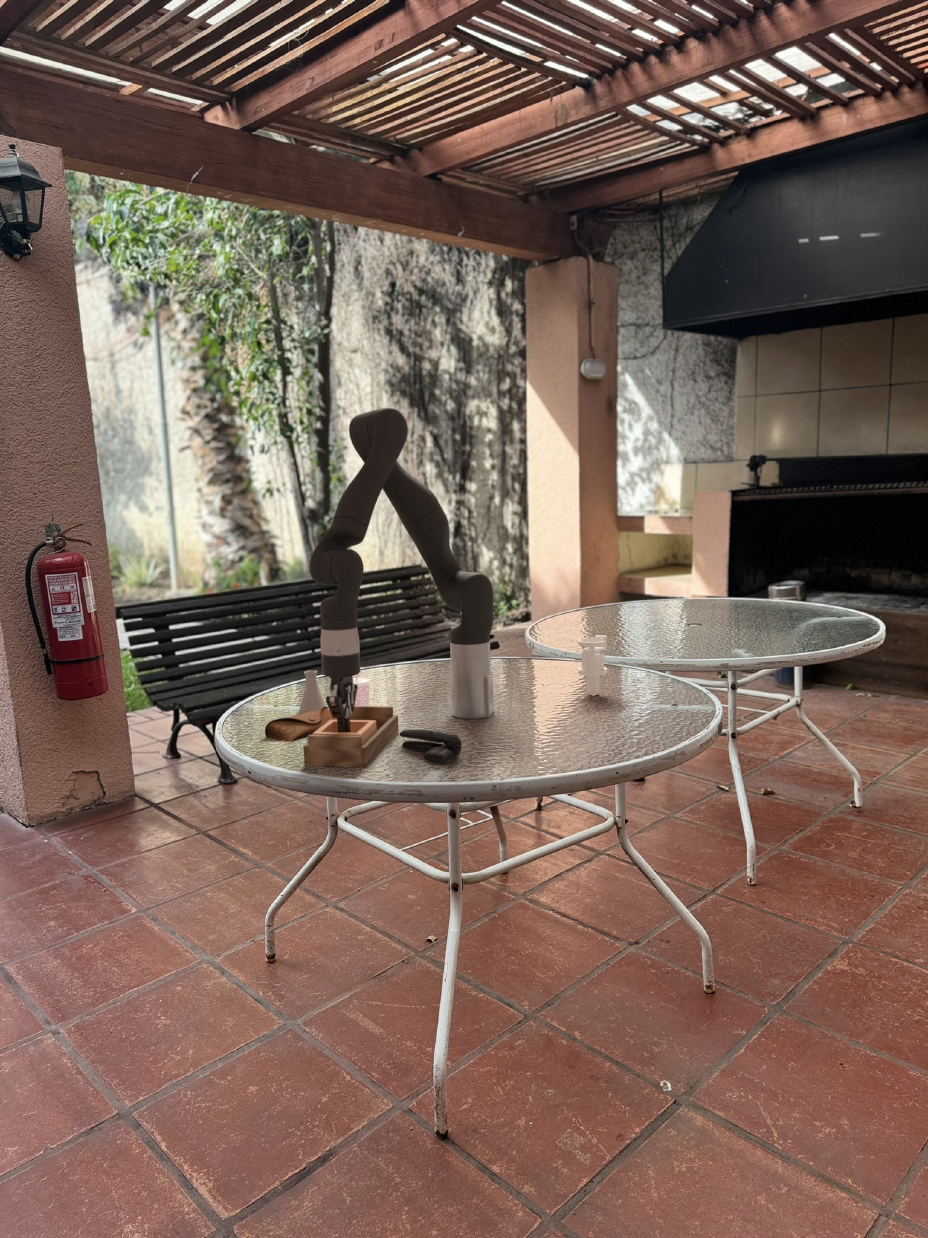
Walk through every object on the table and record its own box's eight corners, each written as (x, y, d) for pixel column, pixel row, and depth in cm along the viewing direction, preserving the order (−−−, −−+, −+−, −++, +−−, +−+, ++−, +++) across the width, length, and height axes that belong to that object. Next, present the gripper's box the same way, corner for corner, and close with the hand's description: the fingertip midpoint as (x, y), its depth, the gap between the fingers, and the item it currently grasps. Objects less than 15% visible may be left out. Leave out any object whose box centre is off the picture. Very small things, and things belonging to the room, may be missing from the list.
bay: (398, 733, 194) (397, 706, 193) (366, 767, 171) (365, 737, 170) (343, 732, 196) (342, 705, 195) (304, 766, 173) (302, 736, 172)
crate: (377, 743, 183) (376, 720, 182) (362, 758, 173) (361, 734, 172) (331, 742, 184) (330, 719, 184) (314, 757, 174) (312, 733, 174)
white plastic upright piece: (607, 698, 219) (606, 637, 217) (578, 697, 221) (577, 638, 218) (607, 691, 226) (607, 633, 224) (579, 691, 227) (578, 633, 225)
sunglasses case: (289, 742, 189) (277, 714, 191) (272, 754, 194) (261, 726, 195) (351, 723, 203) (340, 697, 204) (334, 735, 207) (323, 709, 209)
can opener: (471, 761, 174) (470, 733, 173) (443, 769, 169) (442, 740, 168) (416, 743, 187) (415, 717, 186) (389, 750, 183) (388, 723, 182)
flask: (322, 716, 211) (319, 674, 210) (293, 715, 213) (290, 674, 211) (332, 708, 218) (330, 668, 217) (304, 708, 220) (302, 668, 218)
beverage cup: (349, 723, 204) (346, 662, 202) (342, 717, 210) (339, 658, 208) (375, 719, 206) (372, 660, 204) (367, 713, 212) (364, 655, 210)
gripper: (348, 656, 168) (352, 746, 171) (368, 644, 181) (371, 727, 184) (310, 656, 170) (314, 745, 172) (333, 644, 183) (337, 727, 185)
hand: (344, 736), depth 178 cm, fingers closed
